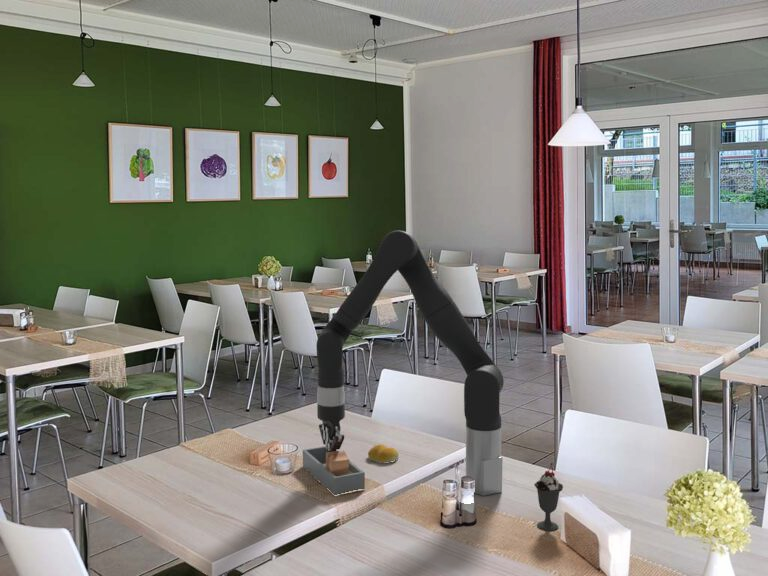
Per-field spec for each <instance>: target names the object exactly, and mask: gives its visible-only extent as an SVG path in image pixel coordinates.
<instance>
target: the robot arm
mask: <svg viewBox="0 0 768 576" xmlns="http://www.w3.org/2000/svg"><path fill="white" fill-rule="evenodd" d="M396 272H399V274H400V275H401V277H402V278H403V279H404V282H405V283H406V284H407V286H408V287H409V289H410V291H411V295H412V297H413V299H414V301H415V304H416V307H417V308H418V311H419V312H420V314H421V316H422V318H423V319H424V321H425V323H426V325H427V326H428V327H429V329H430V330H431V332H432V333H433V335H434V336H435V337H436V338H437V339H438V340H439V341H440V342H441V343H442V344H443V346H445V347H446V348H447V349H448V350H449V351H450V352H452V354H453V355H454V356H455V357H456V358H457V360H458V361H459V363H460V364H461V366H462V368H463V370H464V373H465V374H466V378H465V381H464V386H463V403H464V405H463V407H464V409H463V412H464V413H463V414H464V418H465V477H466V476H471V477H473V478H474V480H475V493H474V494H477V495H480V496H483V497H484V496H490V495H494V494H497V493H498V494H499V493H502V492H503V457H502V456H501V455H502V417H501V413H500V393H501V392H502V389H503V387H504V383H505V382H504V376H503V374H502V370H500V368H499V367H498V366H497V364H496V363H495V362H494V361H493V359H492V358H491V357H490V356H489V355H488V353H487V352H486V351H485V349H484V347H482V346H481V343H479V341H478V339H477V337H476V336H475V334H474V332H473V330H472V329H471V327H470V325H469V324H468V321H467V320H466V319H465V317H464V315H463V314H462V312H461V310H460V308H459V307H458V305H457V304H456V302H455V301H454V299H453V298H452V296H451V295H450V293H449V292H448V291H447V289H446V288H445V287H444V285H443V283H442V282H441V281H440V280H439V279H438V278H437V277H436V275H435V274H434V273H433V271H432V270H431V268H430V266H429V264H428V262H427V261H426V259H425V257H424V255H423V253H422V251H421V249H420V247H419V244H418V242H417V241H416V239H415V237H414V236H413V235H412V234H410V233H409V232H407V231H404V230H401V229H399V230H397V229H396V230H393V231H391V232H388V233H387V234H386V235H385V236H384V237H383V239H382V242H381V243H380V245H379V248H378V250H377V252H376V254H375V255H374V257H373V259H372V261H371V262H370V265H369V266H368V268H367V269H366V271H365V273H364V274H363V276H362V277H361V278H360V279H359V281H358V282H357V284H356V285H355V286H354V288H353V289H352V290H351V291H350V293H349V294H348V295H347V297H345V299H344V301H343V302H342V304H341V305H340V306H339V308H338V309H337V311H336V313H335V315H334V316H333V317H332V318H331V319H330V321H329V322H327V324H326V325H325V327H324V328H322V330H321V332H320V333H319V335H318V338H317V340H316V359H317V365H318V366H317V367H318V369H317V393H316V400H317V401H316V404H317V405H316V407H317V410H316V411H317V412H316V413H317V415H316V418H317V419H318V420H320V421H322V423H319V424H318V429H319V432H320V436H321V441H322V444H323V446H324V445H325V447H326V449H327V452H334V451H336V450H337V451H338V450H340V449H341V447H342V445H343V443H344V440H345V435H344V434H341V433H340V432H341V423H340V422H341V421H342V420H344V419H345V417H346V403H345V402H346V399H345V398H346V393H345V384H344V383H345V381H344V380H345V379H344V378H345V377H344V367H343V347H344V345H345V343H346V341H347V340H348V339H349V337H350V336H351V334H352V332H353V331H354V330H356V329H357V328H358V327H359V325H361V323H362V322H363V320H364V319H365V317H366V316H367V315H368V313H369V312H370V311H371V309H372V307H374V305H375V303H376V301H377V300H378V297H379V295H380V294H381V292H382V291H383V289H384V287H385V286H386V284H387V283H388V282H389V280H390V279H391V278H392V277H393V276H394V275H395V273H396Z"/></svg>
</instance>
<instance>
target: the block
mask: <svg viewBox="0 0 768 576" xmlns="http://www.w3.org/2000/svg"><path fill="white" fill-rule="evenodd" d="M349 461H350V458H349V456H348V455H347V453H346V452H345V450H337V451H334V452H327V453H326V468H327V469H328V470H329V471H330V472H331V473H333V474H334V475H335V476H336V477H337V476H342V475H347V474H349Z"/></svg>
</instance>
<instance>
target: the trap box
mask: <svg viewBox="0 0 768 576" xmlns="http://www.w3.org/2000/svg"><path fill="white" fill-rule="evenodd" d="M336 451H338V449H337V450H336ZM326 453H327V449H326V447H325V446H324V445H323V446H317V447H312V448H307V449H302V468H304V469H305V470H306V469H307V470H308V471H309V472H310V473H311V474H312V475H313V476H314V477H313V476H312V475H311V474H310V473H309V472H308V471H307V470H306V471H307V472H308V473H309V474H310V475H311V476H312V477H313V478H315V477H316V478H315V480H317V479H318V480H319V481H320V482H321V483H322V484H323V485H324V486H325V487H326V488H328V489H329V490H330V491H331V492H332V493H333V494H334V495H337V494H341V493H345V492H349V491H353V490H358V489H365V490H366V486H365V482H366V481H365V480H366V479H365V478H366V475H365V471H364V470H362V469H361V468H360V467H358V466H357V465H356V464H355V463H353V462H352V461H351V460H349V474H347V475H342V476H337V477H336V476H335V475H334V474H333V473H331V472H330V471H329V470H328V469H327V468H326ZM318 480H317V481H318ZM319 481H318V482H319ZM320 482H319V483H320ZM321 483H320V484H321ZM322 484H321V485H322ZM323 485H322V486H323ZM324 486H323V487H324ZM325 487H324V488H325ZM326 488H325V489H326ZM332 493H331V494H332ZM333 494H332V495H333ZM334 495H333V496H334Z"/></svg>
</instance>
